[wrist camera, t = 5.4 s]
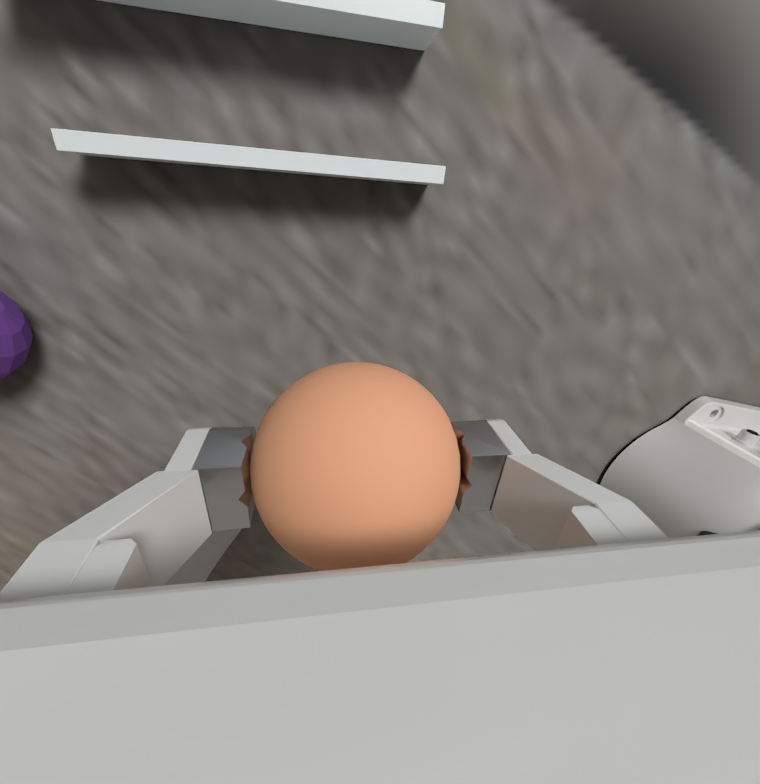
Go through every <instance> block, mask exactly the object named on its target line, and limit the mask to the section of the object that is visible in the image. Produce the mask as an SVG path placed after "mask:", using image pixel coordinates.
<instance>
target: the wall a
mask: <svg viewBox="0 0 760 784" xmlns="http://www.w3.org/2000/svg"><path fill="white" fill-rule="evenodd" d="M51 132H52V135H53V139H54V142H55V145H56V149H57V150H59V151H65V152H71V153H77V154H83V155H89V156H98V157H109V158H121V159H133V160H144V161H156V162H167V163H179V164H190V165H202V166H213V167H225V168H237V169H248V170H260V171H271V172H283V173H294V174H306V175H318V176H329V177H341V178H352V179H364V180H375V181H387V182H399V183H410V184H422V185H436V184H443V183H444V175H445V168H446V166H437V165H426V164H416V163H406V162H395V161H385V160H375V159H364V158H354V157H344V156H333V155H323V154H313V153H302V152H292V151H282V150H271V149H261V148H251V147H240V146H230V145H220V144H209V143H199V142H189V141H178V140H168V139H158V138H147V137H137V136H127V135H116V134H106V133H96V132H85V131H75V130H65V129H54V128H51Z"/></svg>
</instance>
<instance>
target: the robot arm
mask: <svg viewBox="0 0 760 784" xmlns="http://www.w3.org/2000/svg"><path fill="white" fill-rule="evenodd" d="M450 423H451V425H452V427H453V430H454V433H455V435H456V439H457V444H458V448H459V453H460V482H459V488H458V493H457V497H456V500H455V504H456V506H457V509H458V511H459V513H462V512H485V511H491V512H490V513H491V514H492V515H494V516H495V517H496V518H497V519H498V520H500V521H501V522H502V523H503V524H504V525H505V526H507V527H508V528H509V529H510V530H511V531H513V532H514V533H515V534H516V535H517V536H519V537H520V538H521V539H522V540H523V541H524V542H526V543H527V544H528V545H529V546H530V547H532V548H533V549H534V550H535V551H531V552H520V553H509V554H498V555H487V556H476V557H464V558H453V559H442V560H432V561H421V562H410V563H400V564H389V565H378V566H368V567H357V568H346V569H336V570H325V571H314V572H304V573H293V574H282V575H271V576H261V577H250V578H239V579H228V580H218V581H207V582H196V583H185V584H175V585H164V584H165V583H166V582H167V581H168V580H169V579H170V578H171V577H172V576H173V575H174V574H175V573H176V572H177V571H178V569H179V568H180V567H181V566H182V565H183V564H184V563H185V562H186V561H187V560H188V559H189V558H190V557H191V555H192V554H193V553H194V552H195V551H196V550H197V549H198V548H199V547H200V546H201V545H202V544H203V543H204V541H205V540H206V539H207V538H208V537H209V536H210V535H211V534H212V531H220V530H230V529H241V528H250V527H251V522H252V518H253V513H254V508H255V502H254V497H253V493H252V488H251V476H250V462H251V454H252V448H253V443H254V440H255V437H256V430H255V428H254V427H214V428H210V427H208V428H190V429H188V430H187V431H186V432H185V434H184V436H183V437H182V439H181V441H180V443H179V445H178V446H177V448H176V450H175V452H174V454H173V455H172V457H171V459H170V461H169V463H168V464H167V466H166V468H165V470H164V471H159V472H155V473H154V474H152V475H150V476H149V477H147V478H145V479H144V480H142V481H140V482H139V483H137V484H136V485H134V486H132V487H131V488H129V489H127V490H126V491H124V492H122V493H121V494H119V495H118V496H116V497H114V498H113V499H111V500H109V501H108V502H106V503H104V504H103V505H101V506H100V507H98V508H96V509H95V510H93V511H91V512H90V513H88V514H86V515H85V516H83V517H82V518H80V519H78V520H77V521H75V522H73V523H72V524H70V525H68V526H67V527H65V528H64V529H62V530H60V531H59V532H57V533H55V534H54V535H52V536H50V537H49V538H47V539H46V540H44V541H42V542H41V543H39V545H38V546H37V547H36V548H35V550H34V551H33V552H32V553H31V555H30V556H29V557H28V558H27V560H26V561H25V562H24V563H23V565H22V566H21V567H20V568H19V570H18V571H17V572H16V573H15V575H14V576H13V577H12V578H11V580H10V581H9V582H8V583H7V585H6V586H5V587H4V588H3V590H2V591H1V592H0V784H760V407H755V406H750V405H745V404H741V403H736V402H731V401H726V400H721V399H717V398H712V397H707V396H704V397H700V398H697V399H696V400H694V401H692V402H691V403H690V404H689V405H687V406H686V407H685V408H684V409H683V410H681V411H680V412H679V413H678V414H677V415H676V416H675V417H673V418H672V419H671V420H669V421H667V422H666V423H664V424H662V425H660V426H658V427H656V428H654V429H652V430H651V431H649V432H647V433H646V434H644V435H643V436H641V437H640V438H638V439H637V440H636V441H634V442H633V443H632V444H630V445H629V446H628V447H627V448H626V449H625V450H624V451H623V452H622V453H621V454H620V455H619V456H618V457H617V458H616V459H615V460H614V462H613V463H612V464H611V465H610V467H609V468H608V470H607V471H606V473H605V475H604V477H603V479H602V481H601V483H600V485H598V484H596V483H594V482H592V481H590V480H588V479H586V478H584V477H582V476H580V475H578V474H576V473H574V472H572V471H570V470H568V469H566V468H564V467H562V466H560V465H558V464H556V463H554V462H552V461H550V460H548V459H546V458H544V457H542V456H540V455H538V454H531V453H530V451H529V450H528V449H527V448H526V446H525V445H524V444H523V443H522V442H521V440H520V439H519V438H518V437H517V435H516V434H515V433H514V432H513V431H512V429H511V428H510V427H509V426H508V424H507V423H506V422H505V421H504V420H502V419H491V420H479V421H459V422H450Z"/></svg>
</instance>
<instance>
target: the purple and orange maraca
mask: <svg viewBox="0 0 760 784" xmlns="http://www.w3.org/2000/svg"><path fill="white" fill-rule="evenodd" d="M32 338H33V335H32V331H31V326H30V322H29V321H28V320H27V318H26V317H25V316H24V314H23V313H22V311H21V310H20V309H19V307H18V306H17V305H16V303H15V302H14V301H13V300H11V299H10V298H9V297H8V296H6V295H5V294H4V293H3V292H1V291H0V379H2V378H4V377H5V376H7V375H8V374H10V373H11V372H13V371H14V370H15V369H17V368H18V367H19V366H21V365H22V364H23V363H24V362H25V360H26V357H27V355H28V353H29V350H30V347H31V343H32Z"/></svg>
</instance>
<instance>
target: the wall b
mask: <svg viewBox="0 0 760 784" xmlns="http://www.w3.org/2000/svg"><path fill="white" fill-rule="evenodd" d="M98 1H104V2H111V3H117V4H124V5H130V6H137V7H143V8H150V9H156V10H163V11H169V12H176V13H182V14H189V15H195V16H202V17H208V18H215V19H221V20H228V21H234V22H241V23H247V24H254V25H260V26H267V27H273V28H280V29H286V30H293V31H299V32H306V33H312V34H319V35H325V36H332V37H338V38H345V39H351V40H358V41H364V42H371V43H377V44H384V45H390V46H397V47H403V48H409V49H416V50H422V51H425V49H426V48H427V47H428V46H429V44H430V43H431V42H432V41H433V39H434V38H435V37H436V36H437V34H438V33H439V32H440V30H441V29H442V27H443V18H444V9H445V3H440V2H435V1H429V0H98Z"/></svg>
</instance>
